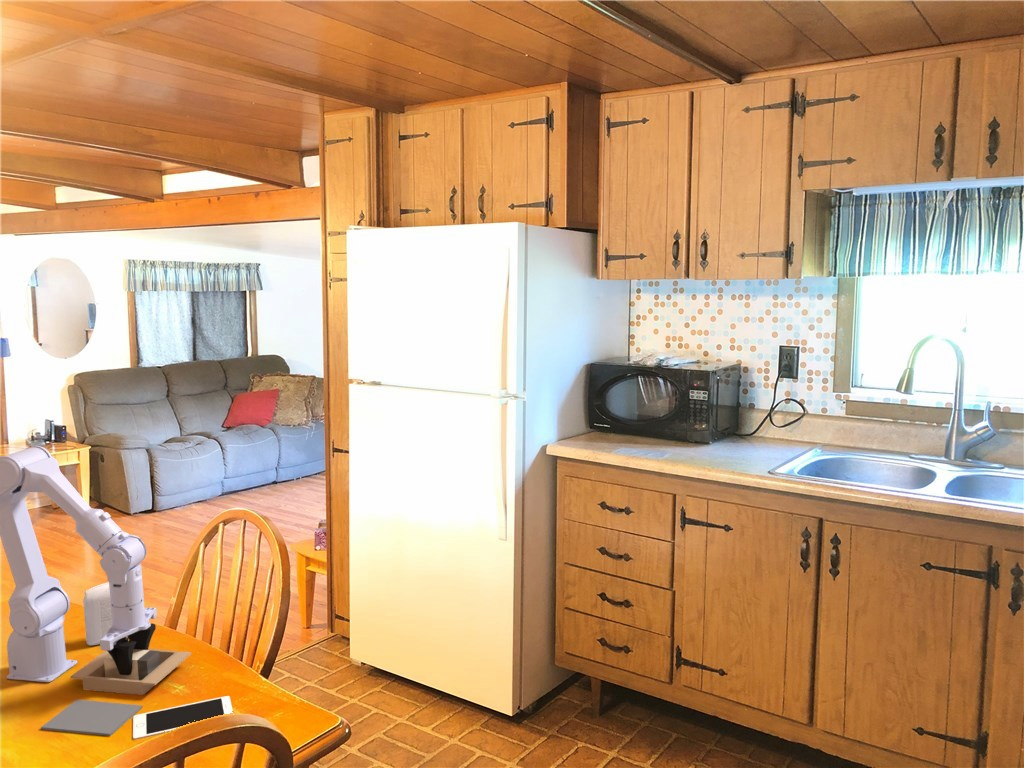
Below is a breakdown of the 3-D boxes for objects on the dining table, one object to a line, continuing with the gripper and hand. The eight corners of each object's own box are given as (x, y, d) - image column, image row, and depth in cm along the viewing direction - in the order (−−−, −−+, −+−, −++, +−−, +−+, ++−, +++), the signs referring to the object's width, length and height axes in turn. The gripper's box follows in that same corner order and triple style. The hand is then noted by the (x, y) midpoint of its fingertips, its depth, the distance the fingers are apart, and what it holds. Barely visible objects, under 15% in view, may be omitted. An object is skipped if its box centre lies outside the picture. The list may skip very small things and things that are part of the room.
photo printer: (138, 628, 178) (133, 574, 176) (141, 636, 175) (137, 580, 173) (85, 640, 173) (80, 585, 171) (88, 648, 169) (82, 591, 167)
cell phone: (133, 718, 144) (133, 715, 144) (229, 698, 150) (229, 695, 150) (133, 742, 137) (132, 738, 137) (233, 719, 143) (233, 716, 143)
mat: (41, 729, 140) (41, 727, 140) (77, 701, 149) (76, 699, 149) (110, 736, 138) (109, 733, 138) (142, 707, 147) (142, 705, 147)
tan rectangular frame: (71, 688, 153) (70, 676, 153) (113, 657, 165) (112, 646, 165) (155, 696, 150) (154, 683, 150) (191, 664, 162) (191, 652, 162)
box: (105, 679, 157) (103, 657, 156) (118, 669, 160) (116, 647, 160) (148, 683, 155) (146, 660, 154) (160, 672, 159) (159, 651, 158)
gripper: (122, 619, 148) (128, 689, 150) (168, 587, 162) (173, 652, 164) (87, 616, 149) (93, 686, 151) (136, 585, 163) (141, 649, 165)
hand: (132, 668), depth 158 cm, fingers closed on box, 4 cm apart
